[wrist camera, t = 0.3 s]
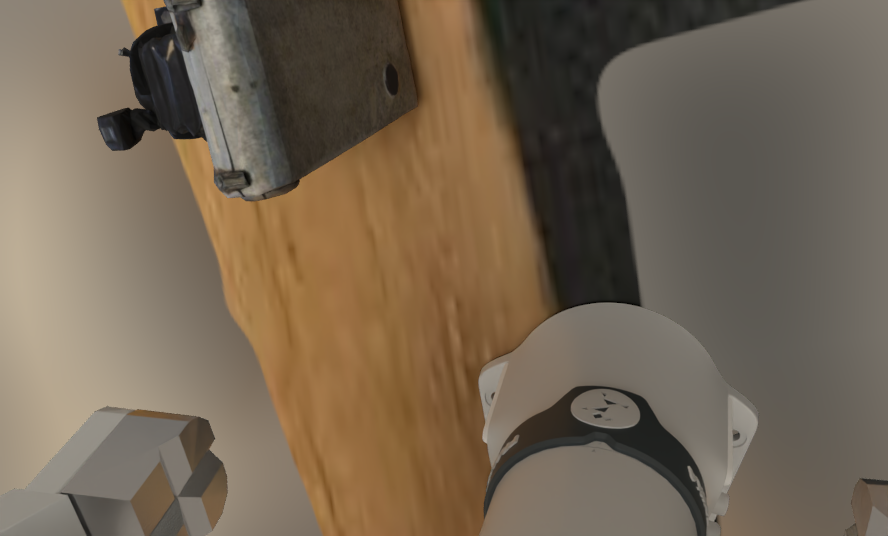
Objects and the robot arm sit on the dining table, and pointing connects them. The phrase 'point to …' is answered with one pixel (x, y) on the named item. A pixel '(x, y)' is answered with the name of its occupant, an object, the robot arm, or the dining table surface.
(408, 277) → the dining table surface
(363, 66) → the vintage camera
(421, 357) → the dining table surface
